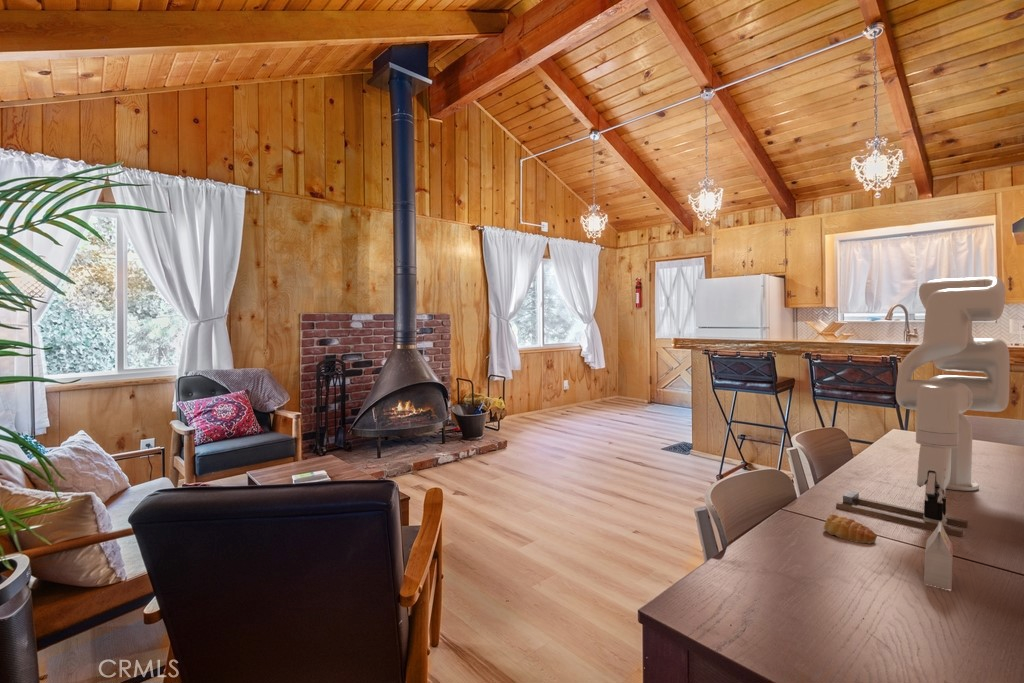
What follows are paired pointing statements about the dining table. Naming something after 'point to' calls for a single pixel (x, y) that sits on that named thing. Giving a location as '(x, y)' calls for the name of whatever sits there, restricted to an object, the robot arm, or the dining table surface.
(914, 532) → the dining table surface
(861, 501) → the guide track
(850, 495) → the end stop
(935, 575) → the white gable top carton
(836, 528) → the pastry
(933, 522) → the rook chess piece
